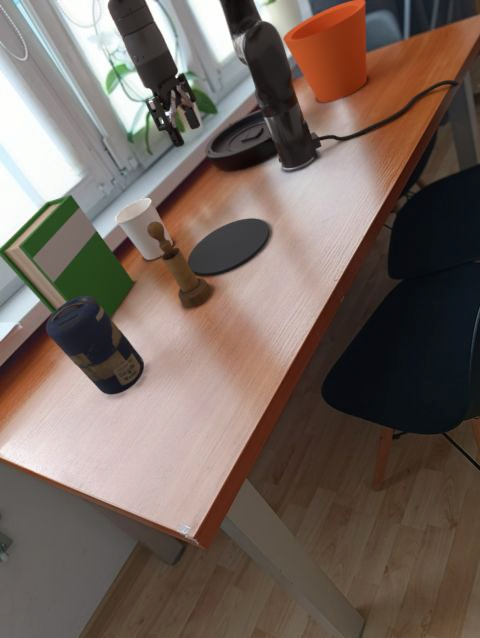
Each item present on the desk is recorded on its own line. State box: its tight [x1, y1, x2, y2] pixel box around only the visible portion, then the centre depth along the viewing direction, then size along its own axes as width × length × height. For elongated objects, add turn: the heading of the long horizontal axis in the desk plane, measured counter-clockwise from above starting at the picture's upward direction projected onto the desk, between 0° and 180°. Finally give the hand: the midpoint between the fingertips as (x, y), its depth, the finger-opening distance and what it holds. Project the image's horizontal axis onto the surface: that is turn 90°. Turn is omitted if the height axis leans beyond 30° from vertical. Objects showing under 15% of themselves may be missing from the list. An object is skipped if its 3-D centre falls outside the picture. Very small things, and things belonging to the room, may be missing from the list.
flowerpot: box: [282, 0, 368, 103], centre depth 148 cm, size 25×25×20 cm
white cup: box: [114, 197, 174, 261], centre depth 120 cm, size 10×10×12 cm
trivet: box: [187, 217, 271, 277], centre depth 109 cm, size 20×20×1 cm
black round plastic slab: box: [204, 109, 278, 172], centre depth 146 cm, size 30×6×30 cm
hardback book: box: [0, 194, 135, 318], centre depth 105 cm, size 18×7×24 cm, turn 161°
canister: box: [45, 296, 145, 396], centre depth 84 cm, size 10×10×18 cm
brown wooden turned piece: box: [147, 221, 212, 308], centre depth 94 cm, size 7×6×18 cm
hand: (188, 136), depth 103 cm, fingers open, 8 cm apart
